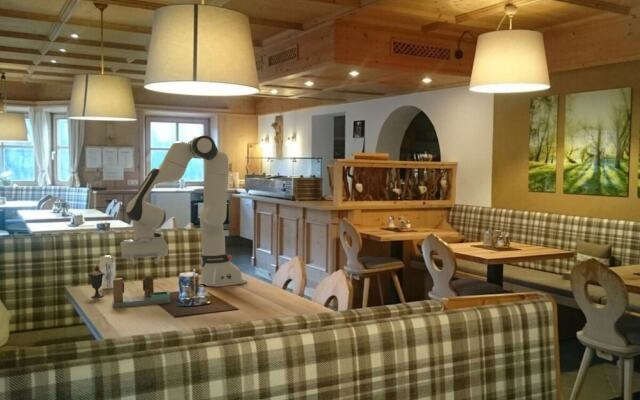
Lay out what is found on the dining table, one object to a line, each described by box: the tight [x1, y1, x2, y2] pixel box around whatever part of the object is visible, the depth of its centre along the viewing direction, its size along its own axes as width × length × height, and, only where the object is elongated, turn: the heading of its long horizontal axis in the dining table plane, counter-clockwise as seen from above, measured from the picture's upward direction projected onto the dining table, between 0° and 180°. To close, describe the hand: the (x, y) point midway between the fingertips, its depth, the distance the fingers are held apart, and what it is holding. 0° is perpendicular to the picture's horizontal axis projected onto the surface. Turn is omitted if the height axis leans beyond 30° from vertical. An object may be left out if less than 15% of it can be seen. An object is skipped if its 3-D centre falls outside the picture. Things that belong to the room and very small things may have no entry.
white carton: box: [99, 254, 116, 290], centre depth 274 cm, size 7×7×15 cm
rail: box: [112, 277, 171, 309], centre depth 239 cm, size 22×7×11 cm, turn 111°
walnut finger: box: [142, 275, 155, 297], centre depth 250 cm, size 4×4×9 cm
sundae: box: [88, 263, 104, 299], centre depth 253 cm, size 7×7×15 cm
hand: (145, 263), depth 260 cm, fingers open, 8 cm apart
